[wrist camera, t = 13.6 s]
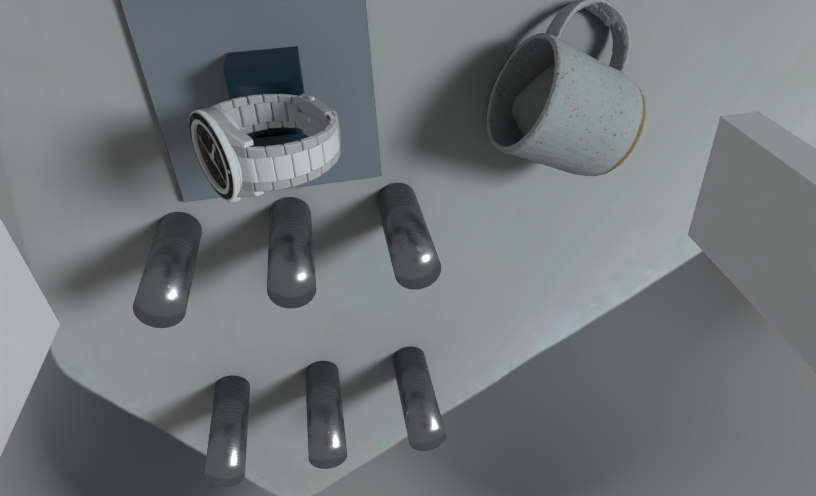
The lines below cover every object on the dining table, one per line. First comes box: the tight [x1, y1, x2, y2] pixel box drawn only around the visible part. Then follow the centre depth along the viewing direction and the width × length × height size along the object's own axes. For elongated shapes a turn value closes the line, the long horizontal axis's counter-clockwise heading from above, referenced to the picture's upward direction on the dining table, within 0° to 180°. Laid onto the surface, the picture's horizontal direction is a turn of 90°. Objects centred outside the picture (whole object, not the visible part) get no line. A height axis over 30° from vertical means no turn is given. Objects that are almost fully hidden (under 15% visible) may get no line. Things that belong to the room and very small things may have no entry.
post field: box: [133, 183, 446, 487], centre depth 46 cm, size 20×19×9 cm
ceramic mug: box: [486, 0, 646, 176], centre depth 39 cm, size 11×8×8 cm
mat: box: [120, 0, 382, 202], centre depth 39 cm, size 14×14×1 cm
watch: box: [189, 46, 341, 202], centre depth 34 cm, size 6×8×11 cm
